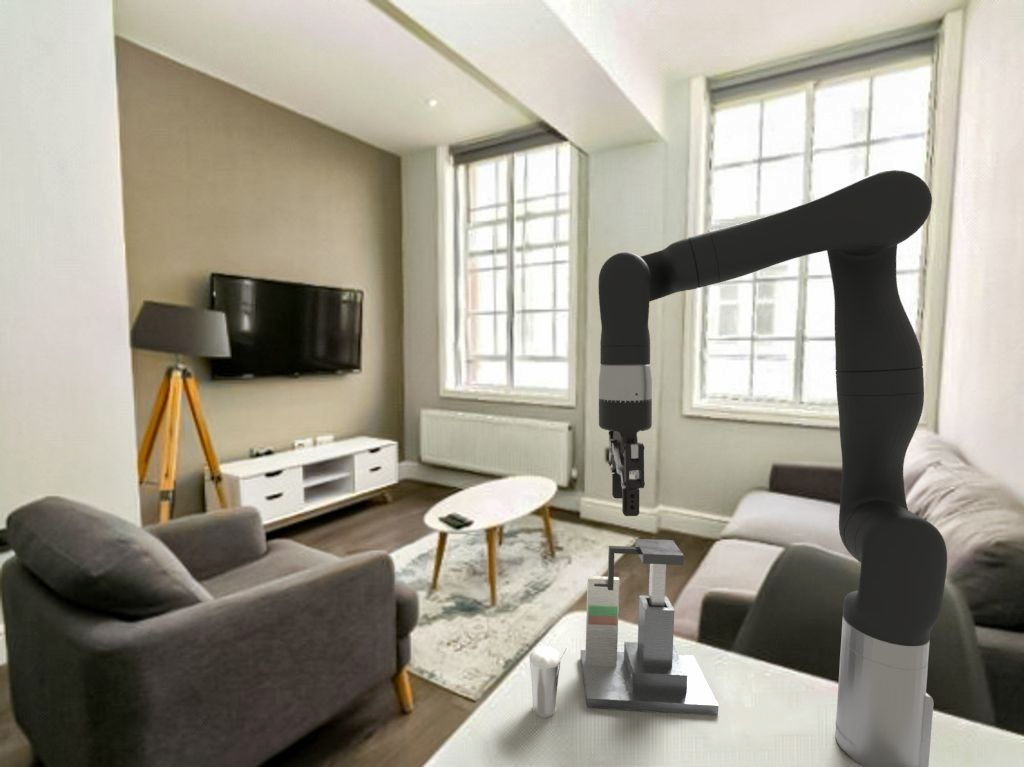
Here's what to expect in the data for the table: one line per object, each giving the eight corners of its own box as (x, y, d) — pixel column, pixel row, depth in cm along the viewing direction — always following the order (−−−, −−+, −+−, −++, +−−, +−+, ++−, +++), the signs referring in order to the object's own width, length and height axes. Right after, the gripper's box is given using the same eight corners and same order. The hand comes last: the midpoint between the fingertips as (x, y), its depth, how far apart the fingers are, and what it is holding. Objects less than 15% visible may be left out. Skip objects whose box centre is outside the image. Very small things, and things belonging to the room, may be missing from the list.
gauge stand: (693, 664, 85) (697, 572, 84) (718, 715, 73) (723, 609, 72) (580, 658, 86) (583, 567, 85) (587, 708, 74) (590, 603, 73)
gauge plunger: (670, 609, 82) (673, 540, 81) (680, 629, 76) (683, 555, 75) (605, 606, 82) (607, 537, 82) (610, 626, 76) (612, 552, 76)
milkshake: (561, 726, 71) (562, 657, 70) (524, 716, 72) (526, 650, 72) (567, 704, 75) (569, 640, 74) (533, 696, 77) (534, 633, 76)
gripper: (664, 400, 66) (663, 522, 67) (640, 391, 80) (639, 492, 81) (606, 401, 66) (606, 522, 67) (592, 392, 80) (592, 492, 81)
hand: (624, 506), depth 74 cm, fingers open, 8 cm apart
